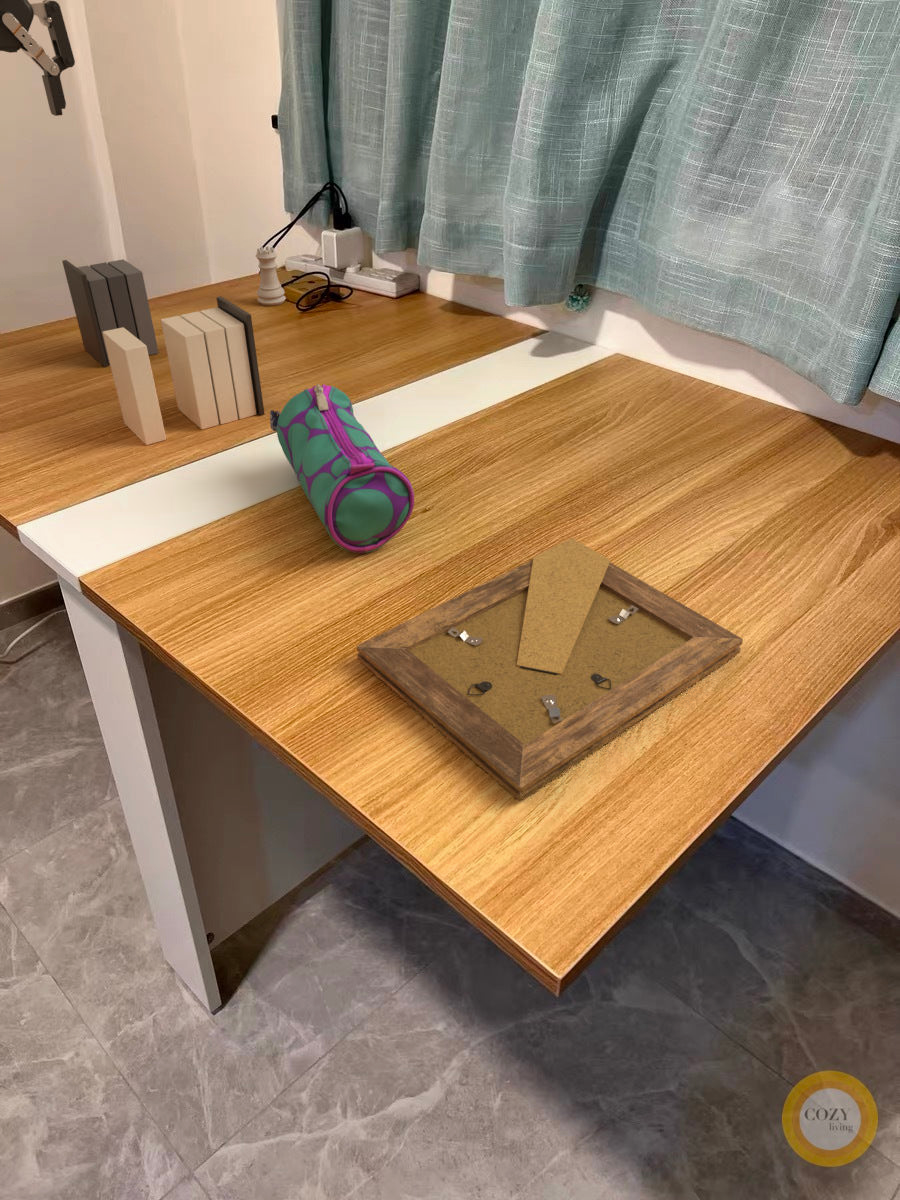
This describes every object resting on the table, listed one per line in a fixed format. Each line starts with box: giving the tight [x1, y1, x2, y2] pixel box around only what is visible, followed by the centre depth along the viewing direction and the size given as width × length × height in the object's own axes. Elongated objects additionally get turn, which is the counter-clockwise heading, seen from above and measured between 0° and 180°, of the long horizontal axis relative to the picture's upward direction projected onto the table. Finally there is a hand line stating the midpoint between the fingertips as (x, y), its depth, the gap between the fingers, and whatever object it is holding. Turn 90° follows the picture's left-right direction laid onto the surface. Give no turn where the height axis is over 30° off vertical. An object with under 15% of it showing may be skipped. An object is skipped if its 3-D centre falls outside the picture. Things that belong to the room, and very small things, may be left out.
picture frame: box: [356, 537, 744, 802], centre depth 69 cm, size 19×2×24 cm
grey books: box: [61, 258, 160, 368], centre depth 119 cm, size 8×8×12 cm
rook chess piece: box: [255, 246, 287, 307], centre depth 137 cm, size 4×4×8 cm
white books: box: [160, 296, 265, 431], centre depth 103 cm, size 8×8×12 cm
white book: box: [102, 327, 167, 446], centre depth 99 cm, size 2×7×11 cm, turn 36°
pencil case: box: [269, 384, 415, 554], centre depth 86 cm, size 21×9×10 cm, turn 22°
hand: (16, 118), depth 95 cm, fingers open, 8 cm apart
